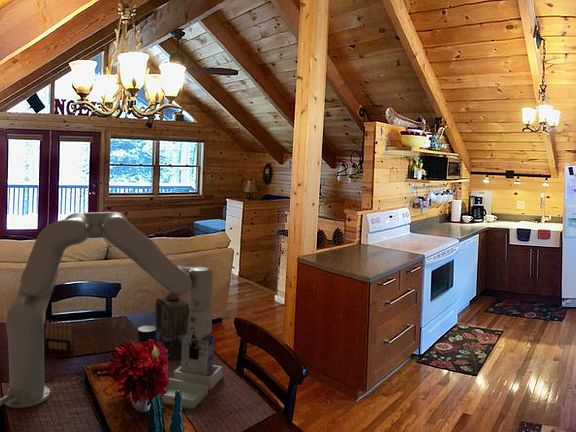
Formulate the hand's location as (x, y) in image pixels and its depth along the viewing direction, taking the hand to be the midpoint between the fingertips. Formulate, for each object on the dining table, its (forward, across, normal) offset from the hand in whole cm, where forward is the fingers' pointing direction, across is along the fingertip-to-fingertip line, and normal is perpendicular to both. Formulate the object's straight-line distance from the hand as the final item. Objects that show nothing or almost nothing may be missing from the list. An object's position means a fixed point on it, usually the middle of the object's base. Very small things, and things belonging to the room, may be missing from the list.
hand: (197, 354), depth 166 cm
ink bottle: (+10, +8, +24) cm, 28 cm away
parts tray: (+9, -13, 0) cm, 16 cm away
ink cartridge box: (+6, 0, 0) cm, 6 cm away
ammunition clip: (+10, +2, +58) cm, 59 cm away
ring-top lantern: (+9, +27, +24) cm, 38 cm away
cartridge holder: (+9, 0, 0) cm, 9 cm away
